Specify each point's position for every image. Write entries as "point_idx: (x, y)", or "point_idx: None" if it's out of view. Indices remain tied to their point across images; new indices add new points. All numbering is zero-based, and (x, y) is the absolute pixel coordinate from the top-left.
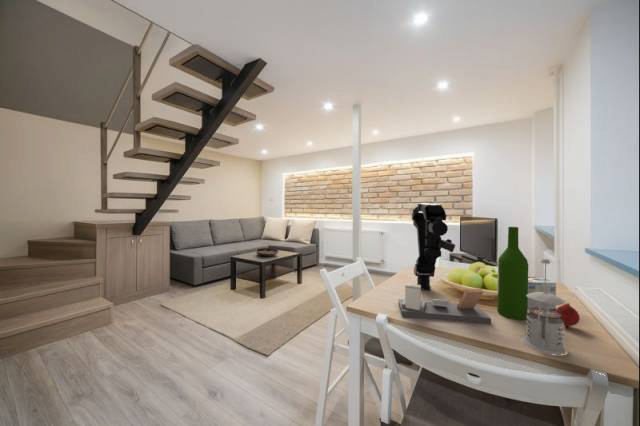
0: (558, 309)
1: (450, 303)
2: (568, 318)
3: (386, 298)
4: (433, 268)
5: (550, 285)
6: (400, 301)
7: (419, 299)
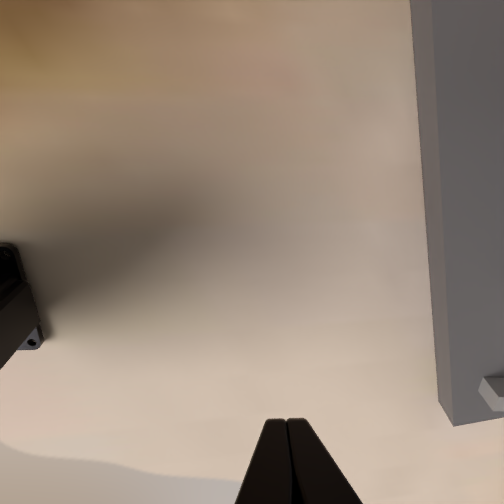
0: None
1: (448, 80)
2: None
3: (359, 461)
4: (316, 446)
5: None
6: (495, 412)
7: None
